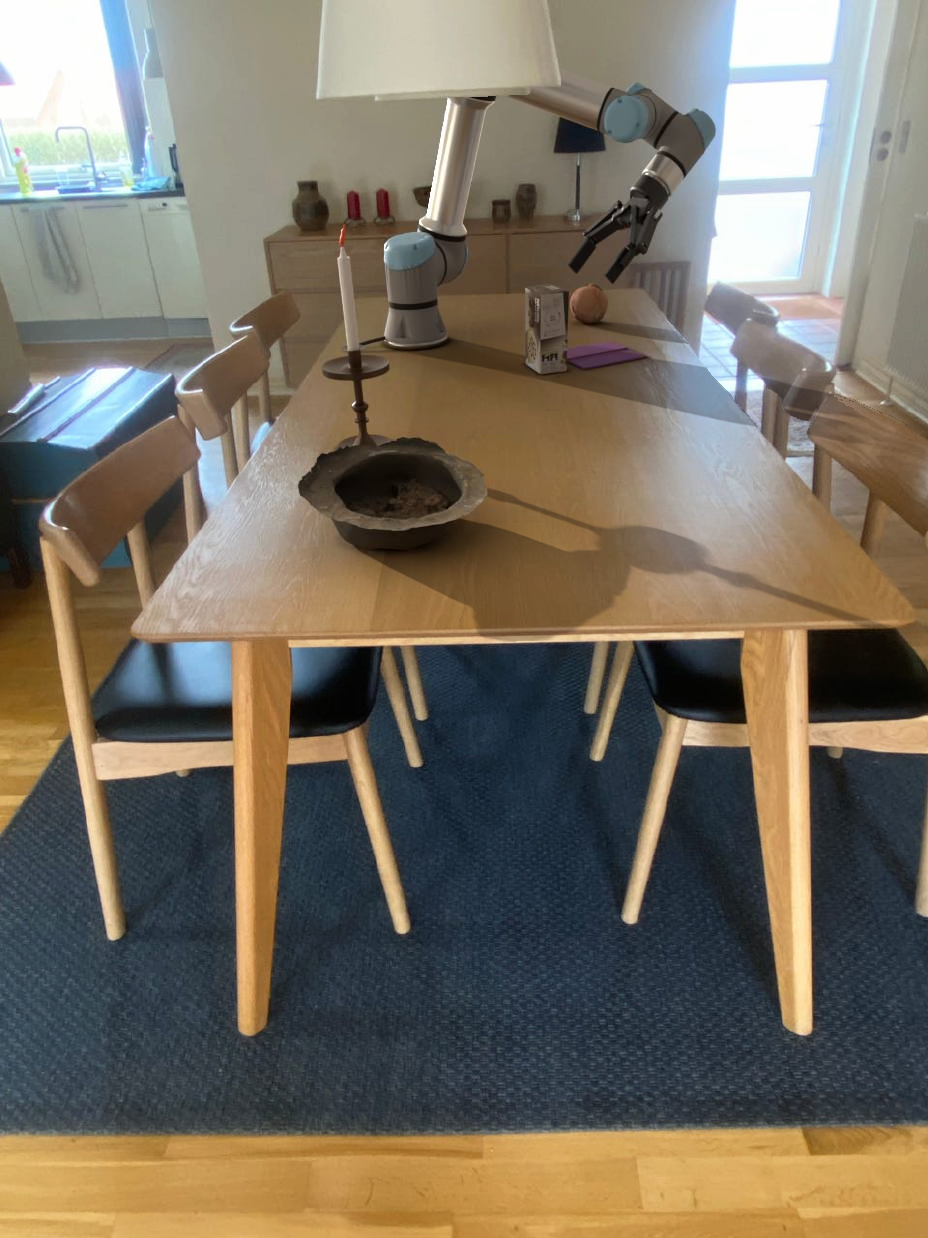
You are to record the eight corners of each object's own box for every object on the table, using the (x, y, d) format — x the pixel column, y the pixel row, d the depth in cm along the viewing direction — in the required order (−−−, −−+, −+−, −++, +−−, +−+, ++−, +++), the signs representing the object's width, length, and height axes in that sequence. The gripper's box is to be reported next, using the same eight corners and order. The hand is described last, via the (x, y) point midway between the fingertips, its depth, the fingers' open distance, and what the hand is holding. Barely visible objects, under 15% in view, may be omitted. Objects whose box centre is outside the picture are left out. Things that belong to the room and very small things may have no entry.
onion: (591, 330, 212) (601, 290, 210) (609, 327, 204) (619, 286, 202) (559, 320, 209) (569, 279, 207) (576, 317, 200) (586, 274, 198)
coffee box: (568, 371, 173) (570, 290, 164) (539, 375, 172) (540, 293, 163) (551, 360, 181) (553, 282, 172) (524, 363, 179) (524, 285, 170)
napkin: (584, 369, 174) (584, 366, 173) (550, 354, 184) (550, 351, 184) (646, 357, 179) (647, 354, 179) (610, 343, 190) (610, 340, 189)
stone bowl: (330, 488, 126) (326, 430, 121) (491, 500, 125) (495, 442, 120) (284, 565, 105) (278, 499, 100) (477, 581, 104) (481, 514, 99)
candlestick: (391, 434, 146) (371, 216, 127) (401, 456, 137) (380, 226, 118) (330, 441, 144) (300, 222, 125) (336, 464, 135) (304, 231, 116)
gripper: (704, 204, 160) (635, 296, 163) (629, 194, 179) (568, 276, 182) (685, 176, 155) (614, 270, 158) (610, 169, 174) (548, 253, 177)
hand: (589, 274), depth 170 cm, fingers open, 13 cm apart
